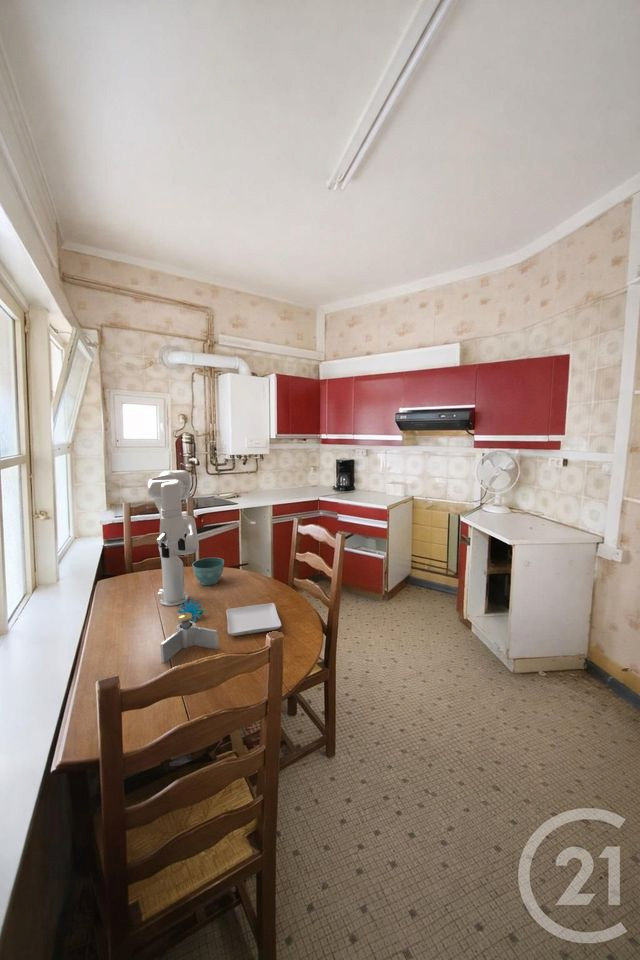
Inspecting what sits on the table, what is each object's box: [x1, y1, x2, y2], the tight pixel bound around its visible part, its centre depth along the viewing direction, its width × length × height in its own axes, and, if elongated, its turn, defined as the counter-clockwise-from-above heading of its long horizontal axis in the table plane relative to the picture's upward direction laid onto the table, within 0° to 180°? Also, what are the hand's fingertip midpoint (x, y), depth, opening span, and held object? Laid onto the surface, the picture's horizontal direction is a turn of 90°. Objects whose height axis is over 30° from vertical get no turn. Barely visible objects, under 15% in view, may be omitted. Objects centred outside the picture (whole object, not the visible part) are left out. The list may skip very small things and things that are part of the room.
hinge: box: [159, 620, 219, 664], centre depth 137 cm, size 17×17×7 cm
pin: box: [178, 612, 193, 629], centre depth 143 cm, size 5×5×11 cm
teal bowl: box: [192, 557, 225, 586], centre depth 201 cm, size 16×16×11 cm
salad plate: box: [225, 602, 282, 636], centre depth 159 cm, size 21×21×3 cm
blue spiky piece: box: [177, 598, 206, 623], centre depth 163 cm, size 11×6×10 cm
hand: (174, 553), depth 155 cm, fingers open, 9 cm apart
